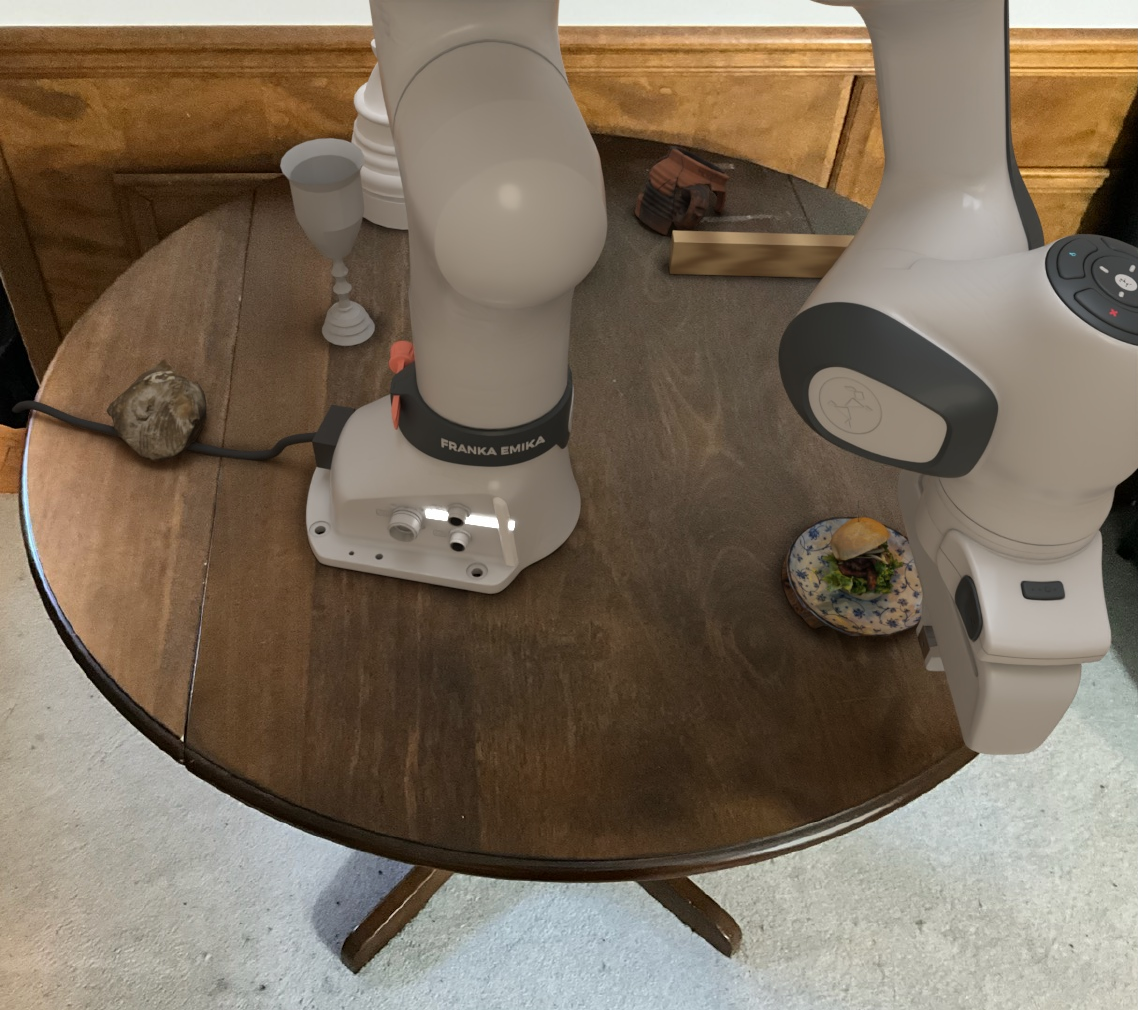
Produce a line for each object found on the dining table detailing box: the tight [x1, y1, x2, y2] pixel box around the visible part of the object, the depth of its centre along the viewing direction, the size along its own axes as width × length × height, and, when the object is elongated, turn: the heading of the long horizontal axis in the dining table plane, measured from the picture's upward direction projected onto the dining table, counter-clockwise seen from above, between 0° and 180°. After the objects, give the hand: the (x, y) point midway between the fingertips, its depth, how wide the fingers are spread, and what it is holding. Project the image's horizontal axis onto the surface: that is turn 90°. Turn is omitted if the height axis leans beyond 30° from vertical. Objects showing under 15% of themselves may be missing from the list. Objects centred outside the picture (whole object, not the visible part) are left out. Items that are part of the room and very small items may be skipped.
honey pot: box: [351, 38, 408, 231], centre depth 109 cm, size 13×13×18 cm
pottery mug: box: [634, 145, 730, 236], centre depth 113 cm, size 12×10×8 cm
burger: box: [781, 500, 923, 638], centre depth 80 cm, size 12×12×8 cm
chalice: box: [279, 137, 376, 347], centre depth 94 cm, size 7×7×18 cm
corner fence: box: [667, 230, 855, 279], centre depth 102 cm, size 21×21×4 cm
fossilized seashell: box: [106, 358, 208, 462], centre depth 89 cm, size 8×7×10 cm
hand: (932, 652), depth 68 cm, fingers closed
